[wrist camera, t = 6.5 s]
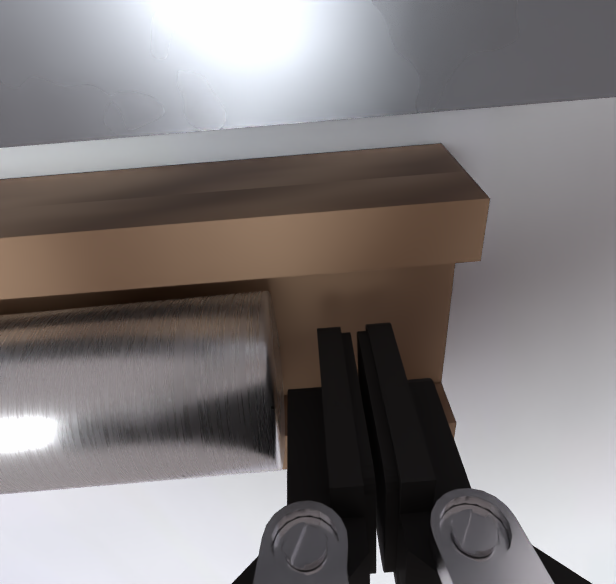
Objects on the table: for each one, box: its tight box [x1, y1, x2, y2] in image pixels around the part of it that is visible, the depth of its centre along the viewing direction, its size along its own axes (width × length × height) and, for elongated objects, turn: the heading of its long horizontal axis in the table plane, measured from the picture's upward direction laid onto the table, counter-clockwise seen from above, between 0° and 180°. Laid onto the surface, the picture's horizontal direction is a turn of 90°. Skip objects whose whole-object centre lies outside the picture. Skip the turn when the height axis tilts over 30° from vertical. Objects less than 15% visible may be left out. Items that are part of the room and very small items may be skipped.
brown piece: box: [0, 144, 490, 469], centre depth 13 cm, size 14×8×4 cm, turn 94°
